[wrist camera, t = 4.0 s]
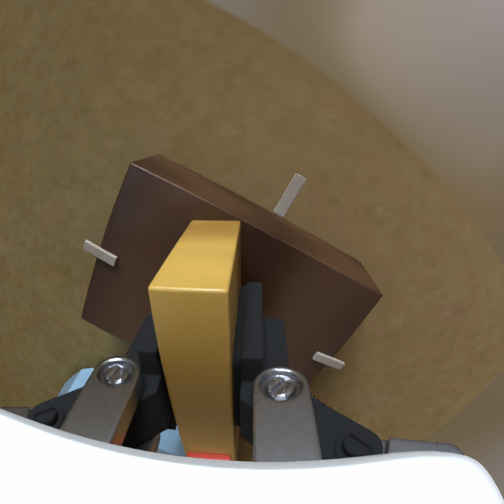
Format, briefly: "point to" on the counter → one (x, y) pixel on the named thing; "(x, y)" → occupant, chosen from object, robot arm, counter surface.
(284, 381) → the robot arm
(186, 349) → the yellow block red tip
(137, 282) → the base
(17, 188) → the counter surface
